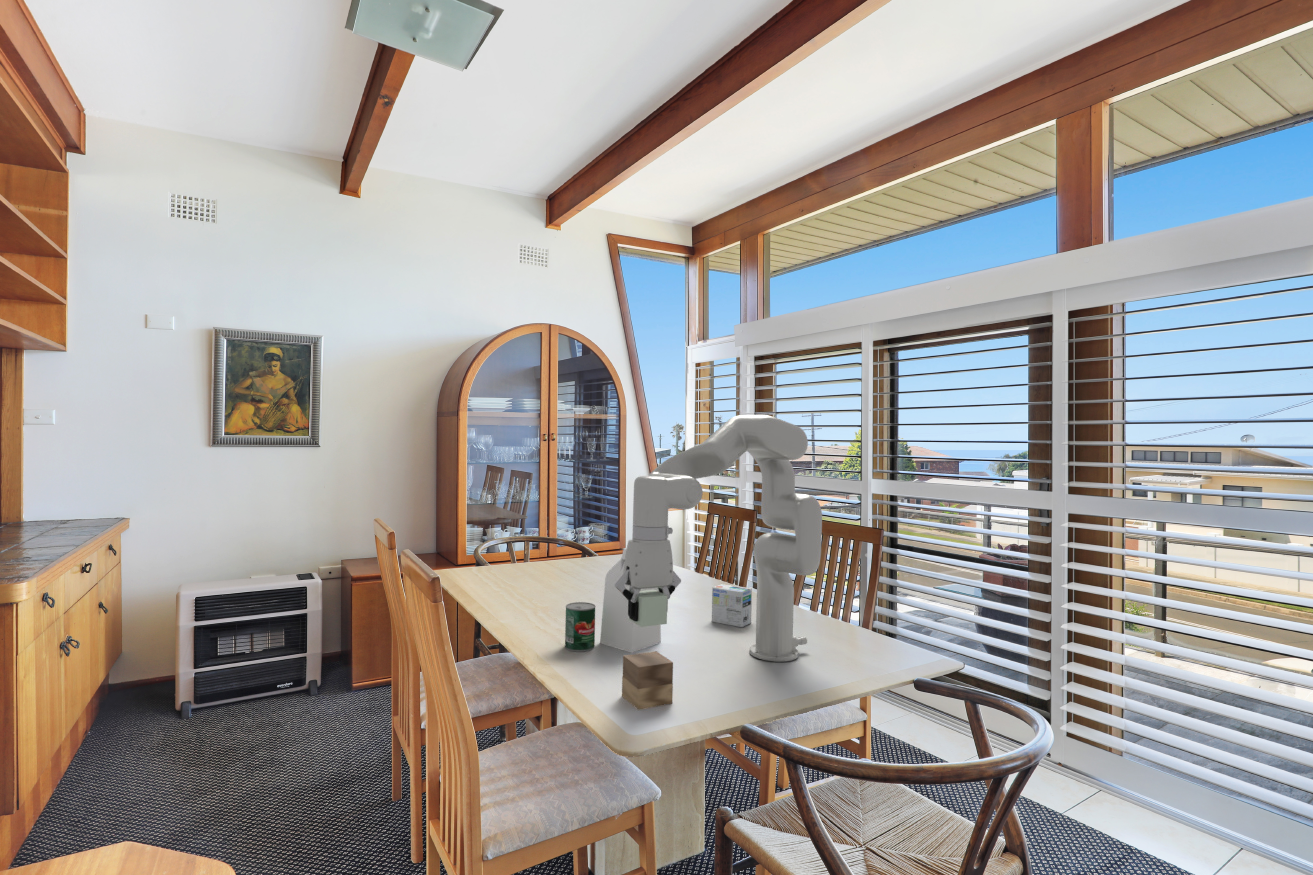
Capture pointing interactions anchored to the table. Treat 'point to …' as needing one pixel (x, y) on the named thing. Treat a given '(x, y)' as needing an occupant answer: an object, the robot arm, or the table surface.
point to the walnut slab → (647, 669)
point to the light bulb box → (731, 605)
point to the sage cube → (651, 608)
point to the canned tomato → (580, 626)
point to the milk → (623, 617)
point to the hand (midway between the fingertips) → (647, 617)
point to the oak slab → (647, 695)
